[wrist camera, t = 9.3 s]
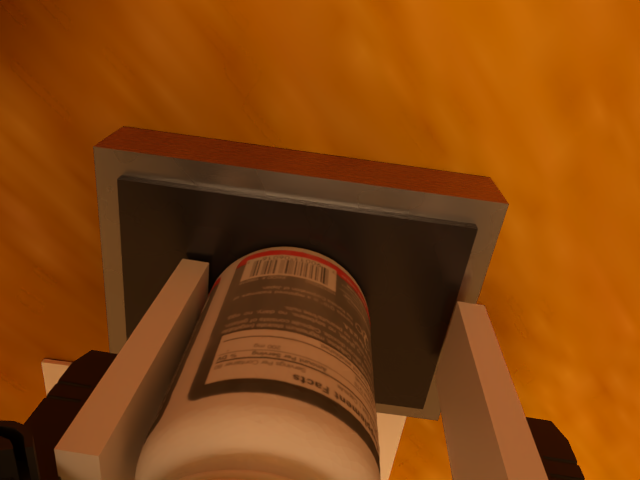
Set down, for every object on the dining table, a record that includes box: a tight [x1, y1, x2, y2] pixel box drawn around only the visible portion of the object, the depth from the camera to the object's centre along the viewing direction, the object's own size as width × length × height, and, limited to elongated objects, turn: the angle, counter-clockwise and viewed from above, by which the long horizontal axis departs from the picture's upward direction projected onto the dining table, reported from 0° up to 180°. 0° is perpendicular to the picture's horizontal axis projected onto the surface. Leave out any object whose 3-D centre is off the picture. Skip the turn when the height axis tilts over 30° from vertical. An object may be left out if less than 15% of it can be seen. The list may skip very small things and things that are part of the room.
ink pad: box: [93, 126, 509, 420], centre depth 16 cm, size 11×8×2 cm
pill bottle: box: [135, 247, 381, 480], centre depth 11 cm, size 5×5×8 cm
